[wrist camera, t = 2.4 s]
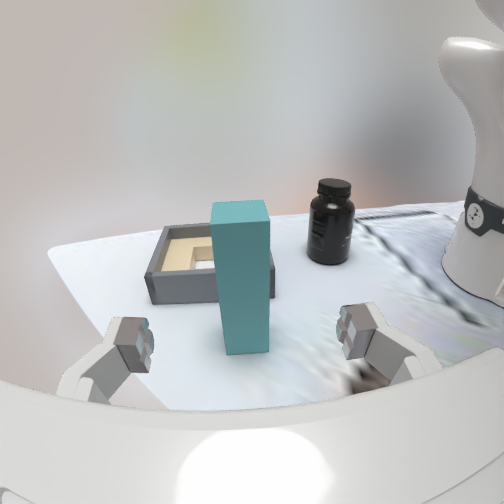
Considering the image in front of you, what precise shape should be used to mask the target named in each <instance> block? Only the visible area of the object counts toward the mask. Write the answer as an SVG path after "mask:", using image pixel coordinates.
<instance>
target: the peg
mask: <svg viewBox="0 0 504 504" xmlns="http://www.w3.org/2000/svg"><path fill="white" fill-rule="evenodd" d="M210 229H211V238H212V247H213V256H214V265H215V273H216V281H217V289H218V297H219V304H220V312H221V319H222V326H223V333H224V340H225V347H226V353H227V355H234V354H250V353H263V352H269V299H270V219H269V216H268V213H267V209H266V206H265V203H264V200H250V201H249V200H248V201H230V202H216V203H213V206H212V213H211V222H210Z"/></svg>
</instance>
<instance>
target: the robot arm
mask: <svg viewBox="0 0 504 504" xmlns="http://www.w3.org/2000/svg"><path fill="white" fill-rule="evenodd" d="M476 3H477V5H478V7H479V8H480V10H481V11H482V12H483V14H484V15H485V16H486V17H487V18H488V19H489V20H490V21H491V22H492V23H494V24H495V25H496V26H497V27H498V28H500V29H501V30H503V31H504V0H476ZM439 67H440V71H441V74H442V76H443V79H444V80H445V82H446V84H447V85H448V87H449V88H450V89H451V90H452V91H453V92H454V93H455V95H456V96H457V97H458V98H459V99H460V100H461V102H462V103H463V105H464V106H465V108H466V110H467V111H468V113H469V115H470V118H471V120H472V123H473V126H474V131H475V136H476V158H475V167H474V174H473V180H472V185H471V186H470V187H469V188H468V192H467V194H466V200H465V204H464V208H465V211H464V212H462V213H461V215H460V218H459V220H458V223H457V226H456V228H455V231H454V233H453V236H452V238H451V241H450V242H447V244H446V246H445V251H446V253H445V254H444V256H443V258H442V266H443V268H444V270H445V272H446V273H447V275H448V276H449V277H450V278H451V279H452V280H453V281H454V282H455V283H456V284H457V285H459V286H460V287H461V288H463V289H464V290H466V291H468V292H470V293H471V294H474V295H476V296H478V297H481V298H485V299H488V300H491V301H492V302H494V303H496V304H497V305H499V306H501V307H504V46H503V45H499V44H496V43H493V42H489V41H486V40H482V39H478V38H473V37H449V38H448V39H447V40H446V41H445V42H444V43H443V45H442V47H441V49H440V52H439ZM339 313H340V315H341V317H340V318H339V319H338V321H337V325H336V332H337V337H338V340H339V341H340V342H341V343H343V347H342V350H343V353H344V355H345V358H346V360H352V359H358V358H364V359H365V360H367V361H368V362H369V363H370V364H371V365H372V366H374V367H375V368H376V369H377V370H378V371H379V372H380V373H382V374H383V375H384V376H385V377H386V378H387V379H389V380H390V381H391V383H390V385H389V386H387V387H383V388H380V389H376V390H372V391H367V392H363V393H359V394H354V395H349V396H345V397H339V398H334V399H329V400H323V401H317V402H311V403H304V404H297V405H289V406H280V407H271V408H259V409H245V410H222V411H181V410H157V409H143V408H133V407H124V406H116V405H111V404H110V402H109V401H108V400H109V398H110V397H111V396H112V395H113V394H114V393H115V391H116V390H117V389H118V388H119V387H120V385H121V384H122V383H123V382H124V381H125V380H126V378H127V377H128V376H129V375H130V374H131V373H149V369H150V365H151V359H150V357H149V356H150V355H151V354H152V353H153V350H154V338H153V334H152V332H151V331H150V330H149V329H148V326H149V323H148V320H147V318H139V317H113V318H112V319H111V322H110V324H109V327H108V329H107V332H106V334H105V337H104V339H103V342H102V344H98V345H97V346H96V347H95V348H93V349H92V350H91V351H90V352H89V353H87V354H86V355H85V356H84V357H82V358H81V359H80V360H79V361H78V362H76V363H75V364H74V365H73V366H72V367H70V368H69V369H68V370H67V371H65V372H64V373H63V376H62V378H61V381H60V384H59V386H58V389H57V392H56V394H55V395H54V394H49V393H45V392H41V391H37V390H34V389H30V388H26V387H23V386H20V385H16V384H13V383H10V382H7V381H4V380H1V379H0V504H504V350H503V349H501V348H499V347H495V348H492V349H489V350H487V351H485V352H483V353H481V354H478V355H476V356H474V357H471V358H469V359H467V360H464V361H462V362H459V363H457V364H454V365H452V366H449V367H447V368H444V369H443V368H442V366H441V365H440V363H439V361H438V360H437V358H436V356H435V354H434V353H433V351H432V350H431V349H430V348H428V347H426V346H425V345H423V344H421V343H420V342H418V341H416V340H415V339H413V338H411V337H410V336H408V335H406V334H405V333H403V332H401V331H400V330H398V329H396V328H395V327H393V326H389V325H388V323H387V321H386V320H385V318H384V316H383V315H382V313H381V311H380V310H379V308H378V306H377V305H376V303H375V302H367V303H361V304H353V305H346V306H342V307H341V308H340V312H339Z"/></svg>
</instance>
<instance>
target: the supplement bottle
mask: <svg viewBox="0 0 504 504" xmlns="http://www.w3.org/2000/svg"><path fill="white" fill-rule="evenodd" d="M317 193H318V194H319V196H317V197H315V198H314V199H313V200H312V202H311V205H310V217H309V230H308V242H307V253H308V255H309V256H310V257H311V258H312V259H313V260H315V261H317V262H319V263H323V264H338V263H341V262H343V261H344V260H346V258H347V257H348V253H349V248H350V242H351V235H352V229H353V222H354V215H355V207H354V204H353V203H352V202H351V201H350V200H349V198H350V197H351V184H350V183H349V182H347V181H344V180H340V179H332V178H327V179H321V180H320V181H319V185H318V190H317Z"/></svg>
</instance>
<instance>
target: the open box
mask: <svg viewBox="0 0 504 504" xmlns="http://www.w3.org/2000/svg"><path fill="white" fill-rule="evenodd" d="M201 260H214V256H213V247H212V238H211V229H210V223H199V224H186V225H173V226H165V227H164V229H163V231H162V234H161V236H160V239H159V241H158V243H157V246H156V248H155V251H154V253H153V256H152V258H151V261H150V263H149V266H148V268H147V271H146V273H145V276H144V278H145V282H146V285H147V288H148V292H149V295H150V298H151V301H152V304H180V303H203V302H219V297H218V289H217V281H216V273H215V268H207V269H194V267H195V261H201ZM274 297H275V266H274V262H273V258H272V254H271V251H270V298H274Z"/></svg>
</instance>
